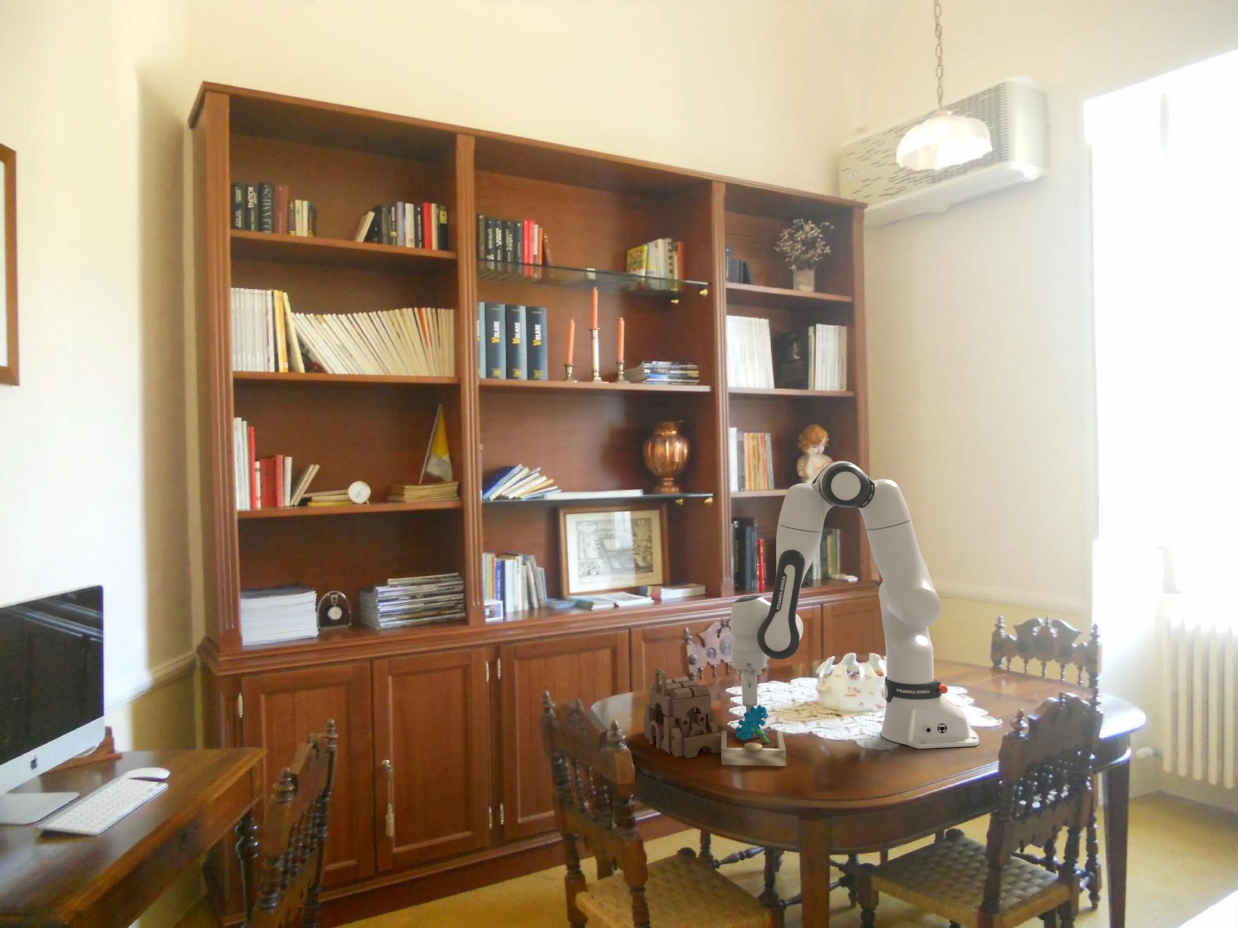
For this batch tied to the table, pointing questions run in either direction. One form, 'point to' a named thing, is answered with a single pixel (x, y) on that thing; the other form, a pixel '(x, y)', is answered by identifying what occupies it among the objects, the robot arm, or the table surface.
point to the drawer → (753, 753)
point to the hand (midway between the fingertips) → (749, 713)
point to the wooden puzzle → (681, 717)
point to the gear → (752, 724)
